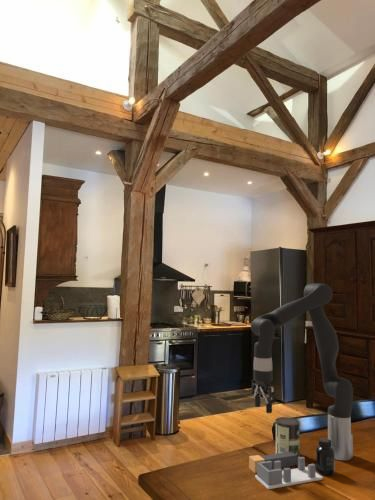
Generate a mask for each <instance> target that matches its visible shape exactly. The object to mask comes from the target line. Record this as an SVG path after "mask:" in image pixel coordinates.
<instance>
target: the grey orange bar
mask: <svg viewBox="0 0 375 500" xmlns="http://www.w3.org/2000/svg"><path fill="white" fill-rule="evenodd" d="M266 461H271V462H272V470H274V461H281V469H283V468H290V467H294V466H295V465H297V466H298V459H297V454H295V453H294V452H286V453H279V454H275V453H273V454H267V455H260V454H258V455H257V454H256V455H255V454H254V455H249V456H248V468H249V470H250V471H252V472H253V473H254V474H257V463H259V462H266ZM295 467H296V466H295Z"/></svg>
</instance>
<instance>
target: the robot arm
mask: <svg viewBox="0 0 375 500" xmlns="http://www.w3.org/2000/svg"><path fill="white" fill-rule="evenodd" d="M332 298H333V290H332V288H331V287H330V286H329V285H328V284H325V283H308V284H307V285H305V286H304V289H303V297H301V298H298V299H296V300H293V301H290V302H288V303H285V304H283V305H281V306H279V307H277V308H276V309H274V310H273V311H270V312H267V313H265V314H263V315H260V316H258V317H256V318H255V319H253V321H251V324H250V330H251V332H252V333H253V334H254V335H257V336H258V341H256V342H255V343H254V346H253V379H251V391H250V392H251V395H253V397H254V406H255V408H259V407H261V395H262V397H263V399H265V412H266V414H272V412H273V404H274V403H276V402H277V401H276V387H275V386H271V382H273V360H272V359H273V358H272V355H273V353H272V346H273V343H274V339H275V334H276V327H277V328H279V327H283V326H284V325H286V324H288V323H289V322H291V321H292V320H294V319H296V318H297V317H299V316H302V315H304V314H305V313H308V314H309V317H310V320H311V325H312V329H313V333H314V339H315V343H316V348H317V352H318V357H319V362H320V366H321V376H322V384H323V388H324V391H325V393H326V394H327V395H328V396H330V397H331V398H334V404H332V405H329V406H328V407H327V439H329V440H331V444H332V446H331V447H332V448H333V449H334V458H335V460H336V461H337V460H338V461H344V462H345V461H350V460H351V459H353V458H354V442H353V441H354V438H353V436H354V435H353V434H352V433H351V431H352V429H351V427H352V425H351V423H352V421H351V419H352V418H351V413H352V411H353V407H354V406H353V403H354V402H353V399H354V388H353V385H352V383H351V381H350V380H349V379H347V378H344V377H341V376H339V374H338V371H337V365H336V360H337V358H338V354H339V350H340V345H339V344H340V343H339V340H338V335H337V331H336V329H335V327H334V326H333V325H332V322H331V321H330V320H329V318H328V317H327V315H326V313H325V311H324V308H323V306H324V305H326V304H329V302H331V301H332Z"/></svg>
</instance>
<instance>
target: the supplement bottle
mask: <svg viewBox="0 0 375 500" xmlns="http://www.w3.org/2000/svg"><path fill="white" fill-rule="evenodd" d="M331 446H332V444H331V440H329V439H328V438H326V437H325V438H324V437H321V438H319V439H318V446H316V448H315V452H316V453H315V455H316V456H315V457H316V458H315V459H316V460H315V461H316V464H315V469H316V473H318V474H319V475H321V476H327V477H328V476H329V477H330V476H331V477H332V476H333V475H335V472H336V469H335V467H336V465H335V462H336V461H335V460H336V459H335V458H334V449H333V448H332V447H331Z"/></svg>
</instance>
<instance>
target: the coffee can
mask: <svg viewBox="0 0 375 500" xmlns="http://www.w3.org/2000/svg"><path fill="white" fill-rule="evenodd" d="M274 422H275V453H274V454H279V453H286V452H294V453H295V454H297V460H298V457H301V455H300V450H301V449H300V437H301V436H300V425H301V424H300V423H301V422H300V421H299V420H298V419H296V418H292V417H284V416H282V417H277V418H275V421H274Z"/></svg>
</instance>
